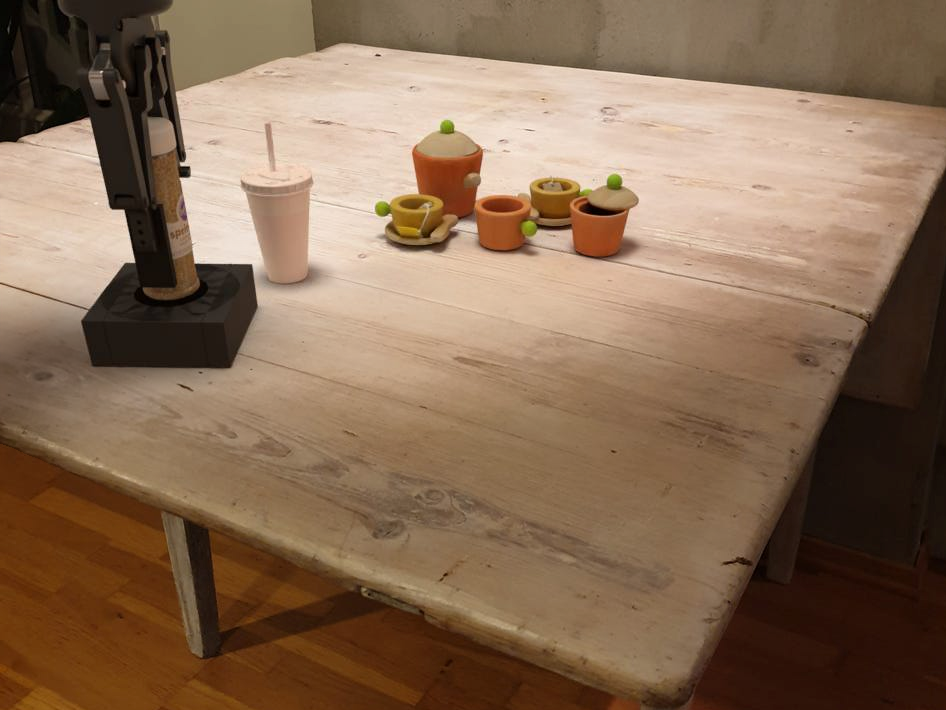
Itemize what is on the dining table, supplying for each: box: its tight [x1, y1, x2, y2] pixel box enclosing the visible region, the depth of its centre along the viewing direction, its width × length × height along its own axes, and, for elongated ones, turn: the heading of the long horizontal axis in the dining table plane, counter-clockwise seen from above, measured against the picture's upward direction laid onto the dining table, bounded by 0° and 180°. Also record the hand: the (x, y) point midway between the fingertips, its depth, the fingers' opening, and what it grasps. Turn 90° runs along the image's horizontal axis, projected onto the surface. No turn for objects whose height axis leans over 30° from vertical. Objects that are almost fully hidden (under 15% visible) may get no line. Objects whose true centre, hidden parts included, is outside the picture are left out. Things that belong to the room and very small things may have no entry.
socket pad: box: [80, 262, 259, 369], centre depth 80 cm, size 11×11×4 cm
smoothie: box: [239, 121, 314, 285], centre depth 87 cm, size 6×6×14 cm
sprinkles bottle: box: [143, 117, 200, 300], centre depth 75 cm, size 5×5×14 cm
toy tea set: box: [374, 119, 640, 258], centre depth 98 cm, size 26×16×10 cm, turn 81°
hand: (167, 271), depth 78 cm, fingers closed on sprinkles bottle, 4 cm apart
